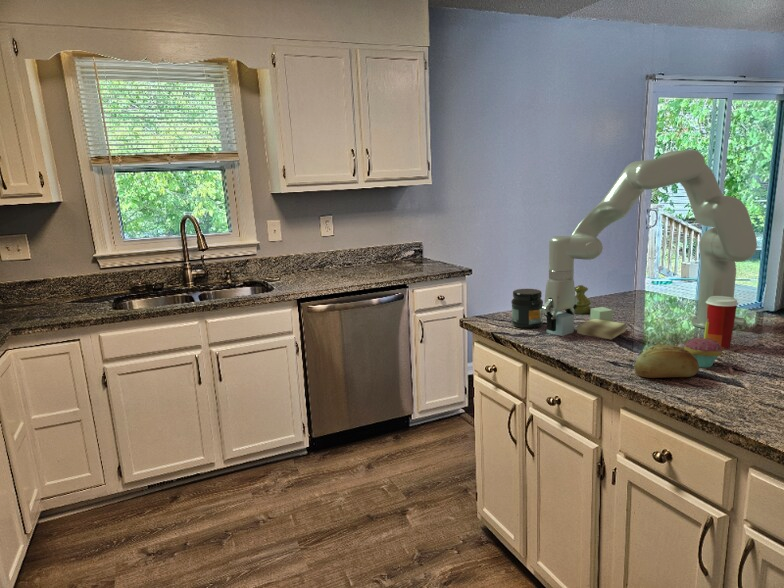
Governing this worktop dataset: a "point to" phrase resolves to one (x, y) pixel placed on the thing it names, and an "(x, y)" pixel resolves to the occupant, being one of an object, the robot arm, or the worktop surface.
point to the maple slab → (601, 328)
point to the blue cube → (563, 324)
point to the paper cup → (721, 319)
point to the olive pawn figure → (582, 300)
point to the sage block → (601, 313)
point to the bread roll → (666, 362)
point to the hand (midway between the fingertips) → (560, 327)
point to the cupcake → (704, 349)
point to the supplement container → (527, 308)
